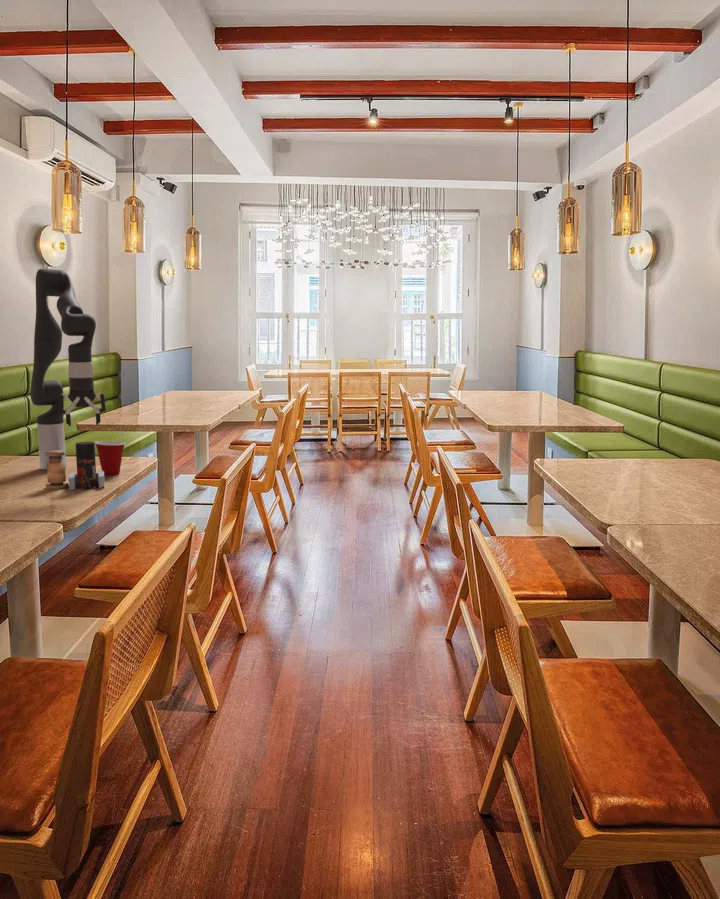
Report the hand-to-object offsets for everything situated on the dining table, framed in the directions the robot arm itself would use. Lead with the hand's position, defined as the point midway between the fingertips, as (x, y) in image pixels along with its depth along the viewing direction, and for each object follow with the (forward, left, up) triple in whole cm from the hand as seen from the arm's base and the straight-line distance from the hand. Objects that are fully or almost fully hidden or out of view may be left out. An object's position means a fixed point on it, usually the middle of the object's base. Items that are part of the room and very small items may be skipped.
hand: (83, 425), depth 247 cm
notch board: (-2, 0, -21) cm, 21 cm away
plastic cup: (-22, +8, -21) cm, 32 cm away
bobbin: (-3, -9, -21) cm, 23 cm away
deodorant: (0, 0, -21) cm, 21 cm away
